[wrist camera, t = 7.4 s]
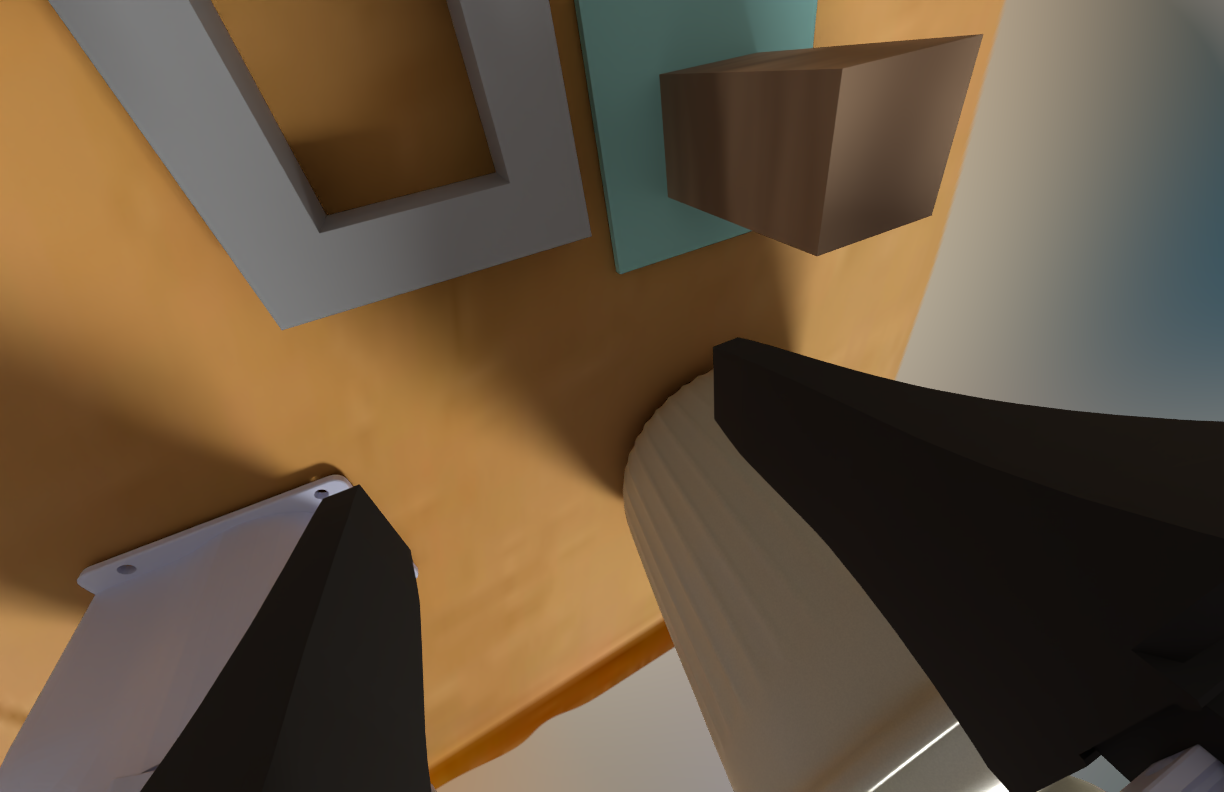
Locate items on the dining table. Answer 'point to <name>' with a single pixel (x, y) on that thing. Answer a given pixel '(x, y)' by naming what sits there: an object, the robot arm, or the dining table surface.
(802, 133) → the walnut block
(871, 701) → the canister
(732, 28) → the mat
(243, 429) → the dining table surface
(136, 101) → the pocket plate
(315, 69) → the dining table surface
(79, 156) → the dining table surface
